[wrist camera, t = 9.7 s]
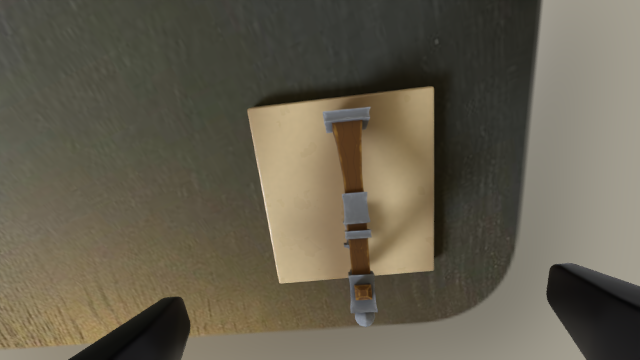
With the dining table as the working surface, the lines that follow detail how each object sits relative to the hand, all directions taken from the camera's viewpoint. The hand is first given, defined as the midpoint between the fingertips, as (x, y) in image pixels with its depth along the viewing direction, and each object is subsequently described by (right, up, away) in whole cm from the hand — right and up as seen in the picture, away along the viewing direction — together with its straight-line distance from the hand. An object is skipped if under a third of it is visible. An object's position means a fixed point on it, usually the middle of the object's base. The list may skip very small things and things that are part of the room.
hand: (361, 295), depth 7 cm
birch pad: (0, +2, +7) cm, 8 cm away
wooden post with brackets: (+1, +2, +7) cm, 7 cm away
